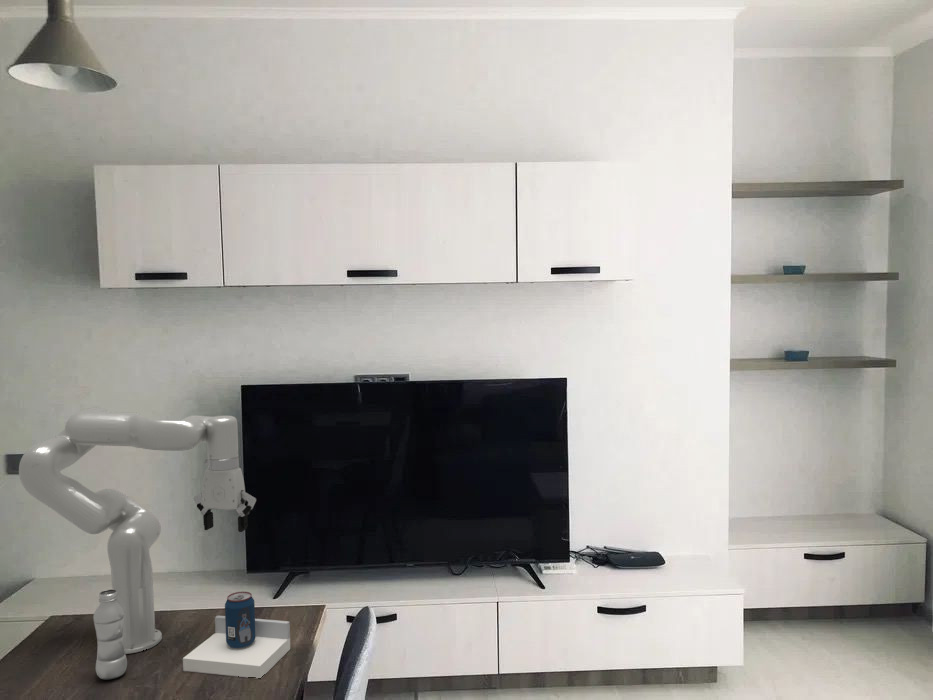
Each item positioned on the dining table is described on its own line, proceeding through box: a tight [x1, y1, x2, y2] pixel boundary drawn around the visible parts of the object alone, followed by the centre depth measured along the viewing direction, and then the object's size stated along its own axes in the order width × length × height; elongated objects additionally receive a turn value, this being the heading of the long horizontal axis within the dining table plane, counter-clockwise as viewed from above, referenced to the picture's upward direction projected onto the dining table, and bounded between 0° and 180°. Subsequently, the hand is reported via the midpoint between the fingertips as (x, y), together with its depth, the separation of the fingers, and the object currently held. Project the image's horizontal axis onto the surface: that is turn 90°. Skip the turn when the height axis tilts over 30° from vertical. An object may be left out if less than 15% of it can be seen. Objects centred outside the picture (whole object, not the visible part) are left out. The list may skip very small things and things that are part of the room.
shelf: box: [182, 615, 291, 679], centre depth 175 cm, size 20×15×7 cm
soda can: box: [224, 591, 256, 649], centre depth 176 cm, size 7×7×12 cm
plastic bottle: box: [92, 588, 128, 680], centre depth 167 cm, size 6×7×20 cm
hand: (225, 529), depth 186 cm, fingers open, 9 cm apart
